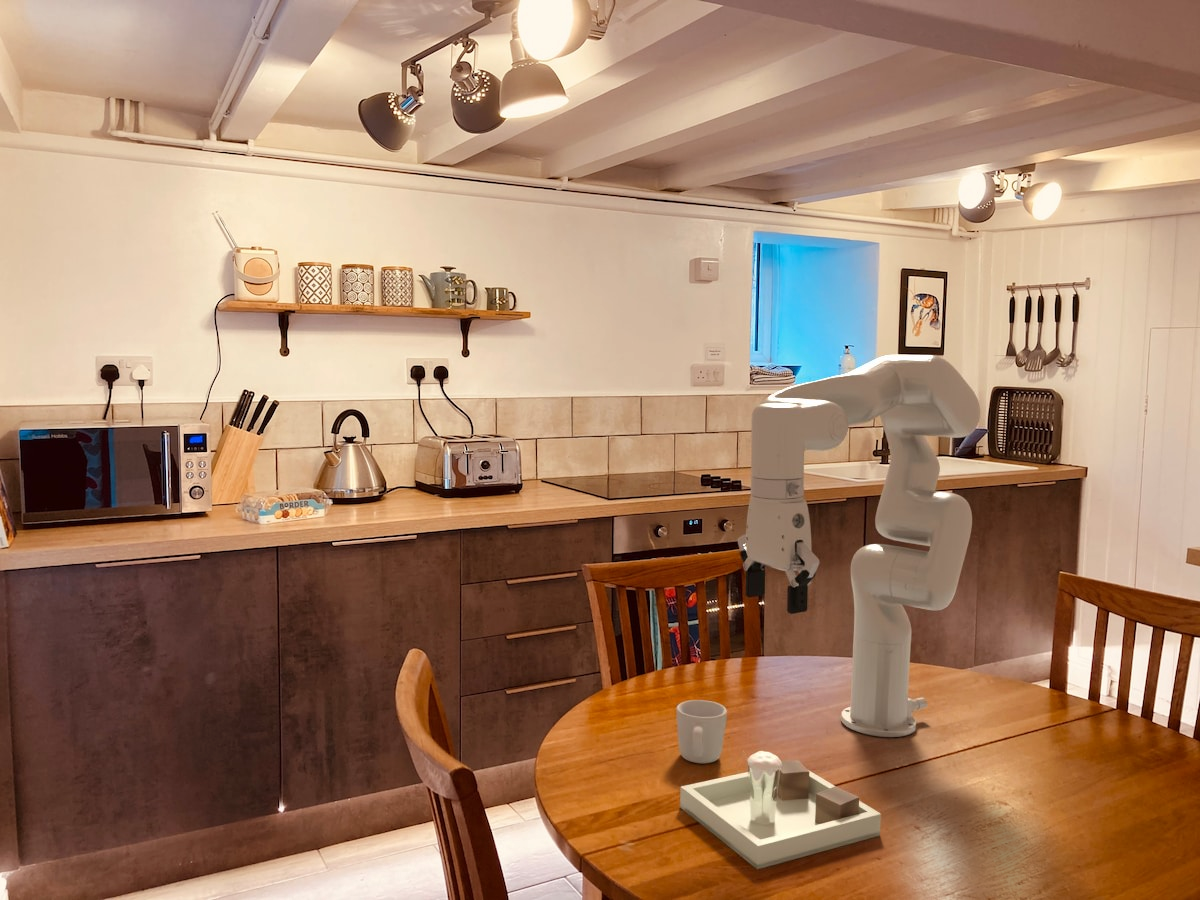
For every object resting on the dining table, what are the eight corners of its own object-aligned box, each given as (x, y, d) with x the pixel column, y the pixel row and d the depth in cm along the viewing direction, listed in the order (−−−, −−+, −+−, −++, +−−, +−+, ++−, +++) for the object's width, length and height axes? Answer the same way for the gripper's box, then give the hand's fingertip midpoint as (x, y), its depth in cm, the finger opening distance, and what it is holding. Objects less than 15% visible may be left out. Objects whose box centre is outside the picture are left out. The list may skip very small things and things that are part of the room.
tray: (793, 781, 141) (794, 761, 140) (880, 835, 125) (881, 813, 125) (680, 807, 132) (680, 786, 131) (757, 869, 116) (758, 846, 115)
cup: (722, 778, 141) (724, 726, 141) (669, 772, 143) (671, 721, 142) (727, 750, 152) (728, 701, 151) (678, 745, 153) (679, 697, 153)
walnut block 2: (834, 814, 129) (835, 786, 129) (858, 825, 126) (859, 797, 126) (815, 822, 127) (816, 793, 126) (838, 834, 124) (840, 805, 123)
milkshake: (736, 812, 129) (738, 742, 128) (774, 811, 130) (777, 741, 129) (744, 828, 125) (746, 755, 124) (783, 827, 125) (786, 755, 124)
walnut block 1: (796, 786, 138) (797, 759, 137) (808, 798, 134) (809, 771, 133) (771, 788, 137) (772, 761, 136) (781, 800, 133) (783, 773, 133)
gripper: (838, 495, 130) (835, 615, 132) (760, 479, 145) (759, 587, 147) (795, 499, 127) (793, 623, 129) (720, 483, 142) (720, 593, 144)
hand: (775, 603), depth 138 cm, fingers open, 9 cm apart
